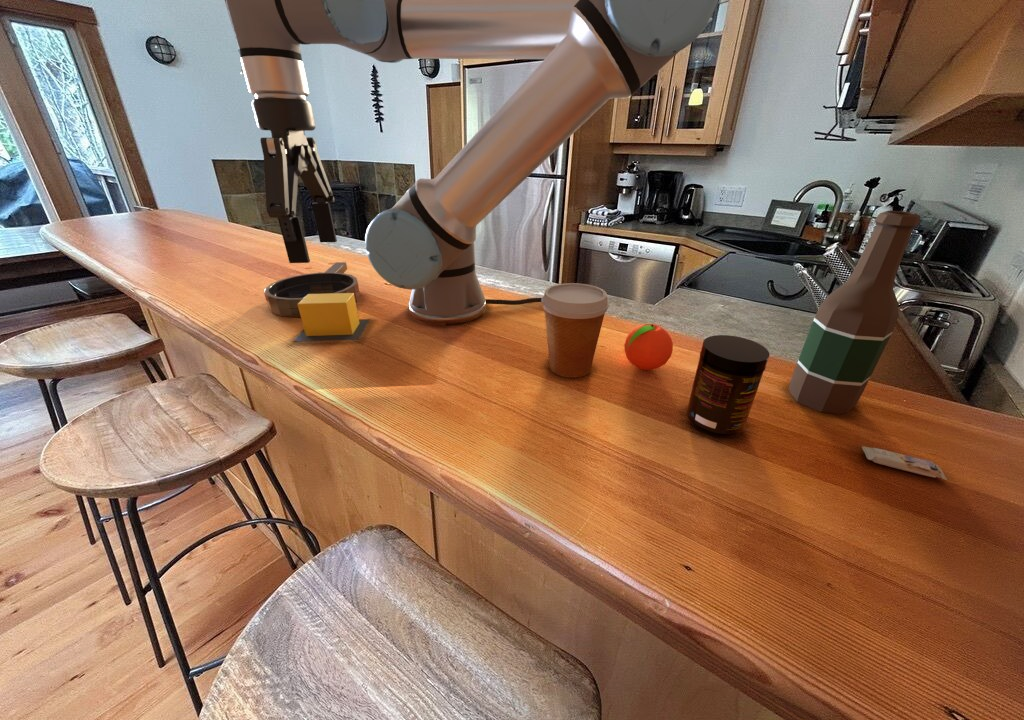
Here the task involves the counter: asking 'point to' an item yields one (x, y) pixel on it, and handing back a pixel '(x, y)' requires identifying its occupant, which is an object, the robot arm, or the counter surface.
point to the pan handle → (338, 267)
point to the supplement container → (725, 384)
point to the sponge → (329, 314)
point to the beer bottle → (854, 323)
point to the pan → (307, 290)
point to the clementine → (648, 346)
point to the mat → (355, 336)
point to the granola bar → (904, 462)
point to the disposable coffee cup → (573, 326)
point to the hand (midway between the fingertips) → (315, 251)
